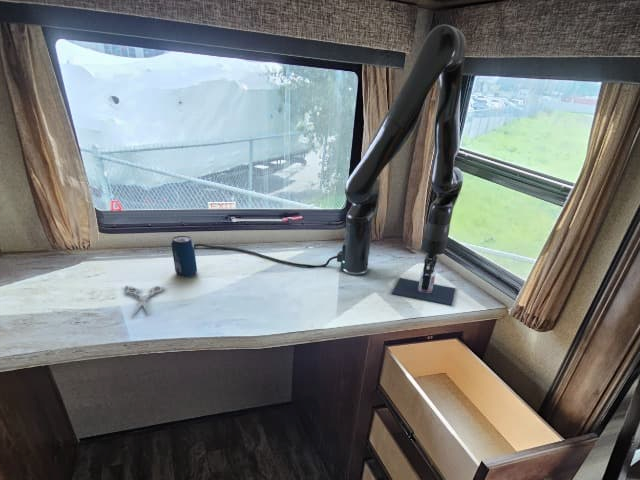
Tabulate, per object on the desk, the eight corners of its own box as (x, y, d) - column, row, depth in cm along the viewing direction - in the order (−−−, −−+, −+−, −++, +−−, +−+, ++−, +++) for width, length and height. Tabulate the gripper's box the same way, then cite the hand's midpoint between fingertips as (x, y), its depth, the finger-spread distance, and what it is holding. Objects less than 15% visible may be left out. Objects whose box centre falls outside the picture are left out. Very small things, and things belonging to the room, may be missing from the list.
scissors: (162, 283, 136) (160, 312, 121) (162, 286, 137) (160, 315, 122) (125, 285, 133) (119, 315, 118) (126, 288, 134) (120, 318, 119)
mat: (391, 294, 144) (392, 292, 144) (399, 278, 155) (399, 277, 155) (451, 305, 141) (451, 304, 140) (455, 289, 151) (455, 288, 151)
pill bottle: (431, 294, 146) (436, 270, 141) (417, 292, 146) (422, 268, 141) (431, 288, 149) (437, 265, 144) (418, 286, 150) (422, 263, 145)
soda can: (199, 270, 149) (195, 235, 141) (194, 278, 143) (190, 242, 136) (179, 269, 148) (173, 234, 141) (173, 277, 143) (167, 241, 136)
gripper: (427, 228, 143) (417, 276, 153) (420, 241, 132) (411, 292, 142) (449, 232, 141) (438, 280, 152) (445, 245, 130) (434, 296, 140)
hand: (425, 286), depth 147 cm, fingers closed on pill bottle, 4 cm apart
